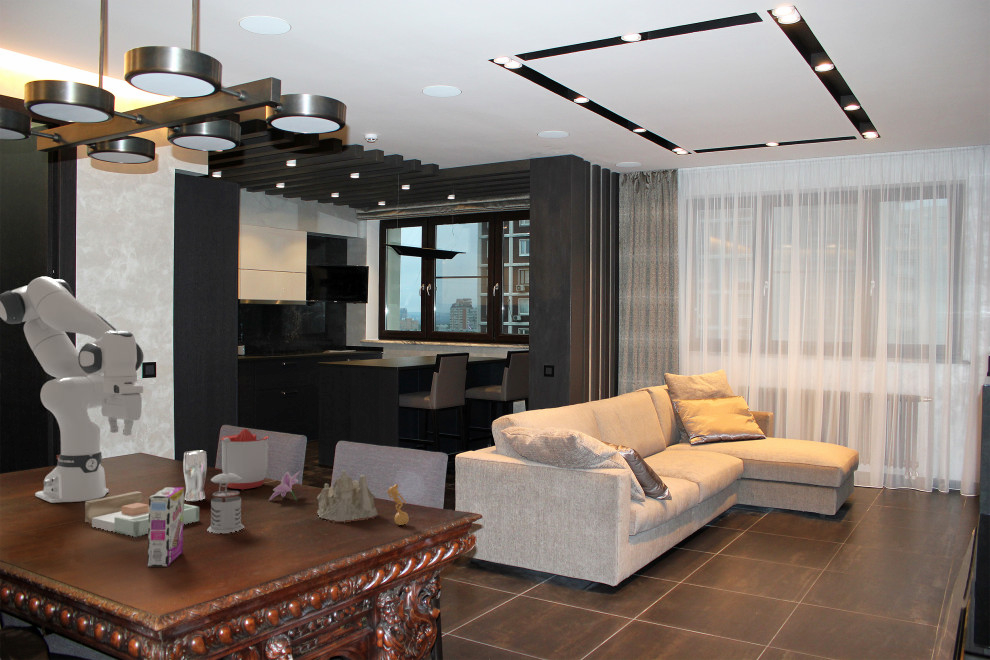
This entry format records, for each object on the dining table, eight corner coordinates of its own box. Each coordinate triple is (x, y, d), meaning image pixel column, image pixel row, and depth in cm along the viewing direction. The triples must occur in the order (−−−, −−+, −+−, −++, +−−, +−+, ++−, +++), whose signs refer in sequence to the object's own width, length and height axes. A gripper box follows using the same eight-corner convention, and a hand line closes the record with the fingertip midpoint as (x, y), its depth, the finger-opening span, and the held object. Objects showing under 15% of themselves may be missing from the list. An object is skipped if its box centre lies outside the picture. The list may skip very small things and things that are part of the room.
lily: (304, 498, 254) (290, 472, 255) (317, 490, 245) (303, 463, 246) (271, 515, 246) (258, 488, 247) (284, 507, 237) (270, 479, 238)
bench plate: (91, 526, 212) (91, 517, 212) (155, 511, 229) (156, 503, 229) (114, 532, 207) (114, 523, 207) (178, 516, 224) (178, 507, 224)
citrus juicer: (281, 484, 269) (282, 427, 269) (241, 493, 255) (241, 433, 255) (251, 479, 278) (252, 423, 278) (210, 487, 263) (211, 429, 263)
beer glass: (198, 502, 242) (198, 454, 242) (178, 501, 243) (178, 453, 243) (210, 497, 249) (211, 451, 248) (191, 496, 250) (191, 450, 250)
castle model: (383, 517, 225) (380, 466, 226) (328, 527, 217) (326, 473, 217) (363, 509, 239) (360, 461, 239) (311, 518, 230) (309, 467, 231)
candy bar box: (169, 567, 178) (169, 496, 178) (146, 567, 178) (147, 496, 178) (184, 552, 190) (185, 486, 189) (163, 553, 189) (164, 486, 189)
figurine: (415, 527, 215) (416, 484, 215) (397, 531, 211) (397, 487, 211) (399, 521, 222) (400, 479, 222) (381, 524, 218) (381, 482, 218)
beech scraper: (85, 522, 217) (85, 501, 217) (136, 511, 230) (136, 491, 230) (90, 524, 215) (90, 502, 215) (141, 512, 229) (142, 492, 229)
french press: (209, 535, 205) (210, 441, 205) (203, 524, 216) (204, 435, 215) (247, 531, 210) (248, 439, 210) (240, 520, 220) (241, 433, 220)
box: (114, 532, 207) (114, 517, 207) (178, 516, 224) (178, 502, 224) (135, 537, 202) (135, 522, 202) (199, 520, 220) (199, 506, 220)
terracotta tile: (121, 513, 217) (121, 506, 217) (137, 509, 222) (137, 502, 222) (132, 515, 215) (132, 508, 215) (148, 511, 219) (148, 504, 219)
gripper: (95, 385, 229) (95, 431, 229) (122, 388, 215) (123, 438, 215) (117, 384, 233) (117, 429, 233) (145, 387, 219) (146, 435, 219)
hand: (120, 433), depth 224 cm, fingers open, 8 cm apart
